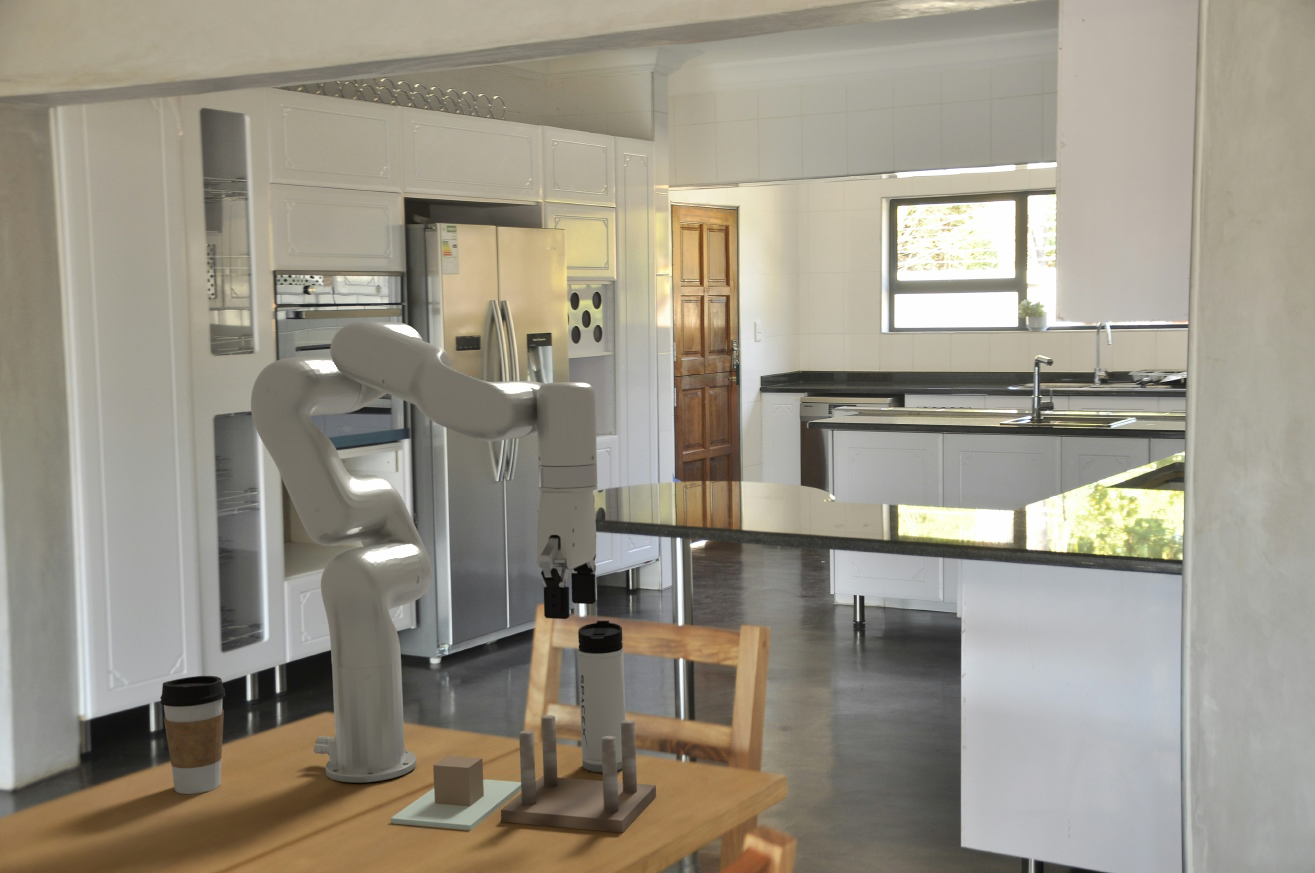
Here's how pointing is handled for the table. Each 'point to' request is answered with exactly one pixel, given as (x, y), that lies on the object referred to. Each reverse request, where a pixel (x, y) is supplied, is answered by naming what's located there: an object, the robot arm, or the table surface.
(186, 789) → the coffee cup
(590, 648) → the travel mug
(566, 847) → the table surface
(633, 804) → the peg stand
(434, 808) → the shelf board
